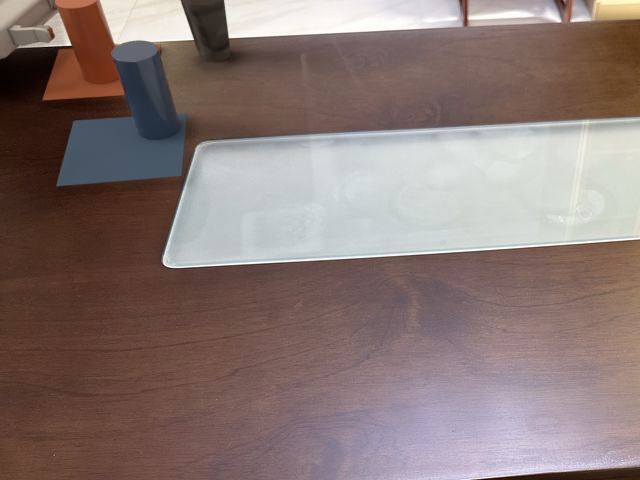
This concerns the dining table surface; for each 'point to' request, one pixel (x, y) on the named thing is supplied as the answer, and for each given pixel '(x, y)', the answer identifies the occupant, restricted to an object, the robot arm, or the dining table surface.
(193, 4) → the beverage cup
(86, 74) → the orange cylinder
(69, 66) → the terracotta mat
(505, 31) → the dining table surface
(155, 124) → the navy blue cylinder
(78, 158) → the blue mat
